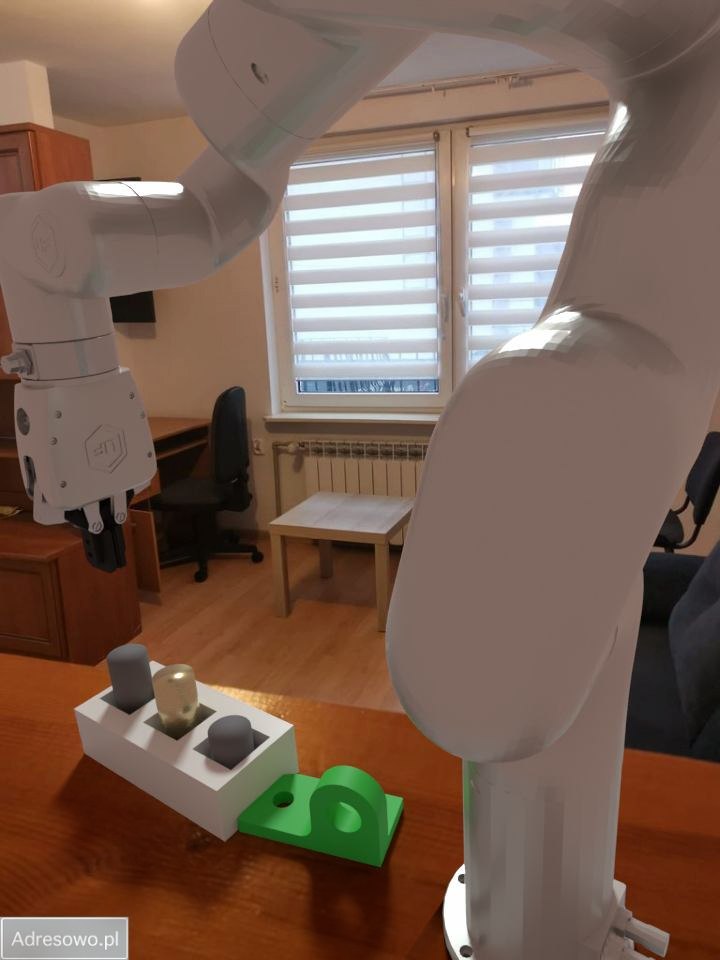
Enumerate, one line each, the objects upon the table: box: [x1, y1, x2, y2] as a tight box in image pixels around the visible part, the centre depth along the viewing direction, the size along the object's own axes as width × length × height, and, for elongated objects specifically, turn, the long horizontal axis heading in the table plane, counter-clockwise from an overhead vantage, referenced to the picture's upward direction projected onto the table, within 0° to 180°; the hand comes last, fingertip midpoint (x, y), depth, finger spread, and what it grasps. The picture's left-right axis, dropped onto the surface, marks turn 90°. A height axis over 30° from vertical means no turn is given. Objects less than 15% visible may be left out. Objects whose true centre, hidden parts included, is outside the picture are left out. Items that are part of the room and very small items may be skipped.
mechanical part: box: [238, 765, 404, 868], centre depth 57 cm, size 12×6×8 cm, turn 70°
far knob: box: [106, 643, 155, 715], centre depth 67 cm, size 4×4×6 cm
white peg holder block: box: [73, 660, 300, 842], centre depth 65 cm, size 19×9×6 cm, turn 54°
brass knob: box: [152, 663, 202, 741], centre depth 63 cm, size 4×4×6 cm
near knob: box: [208, 715, 254, 770], centre depth 61 cm, size 4×4×6 cm
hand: (108, 566), depth 63 cm, fingers closed
